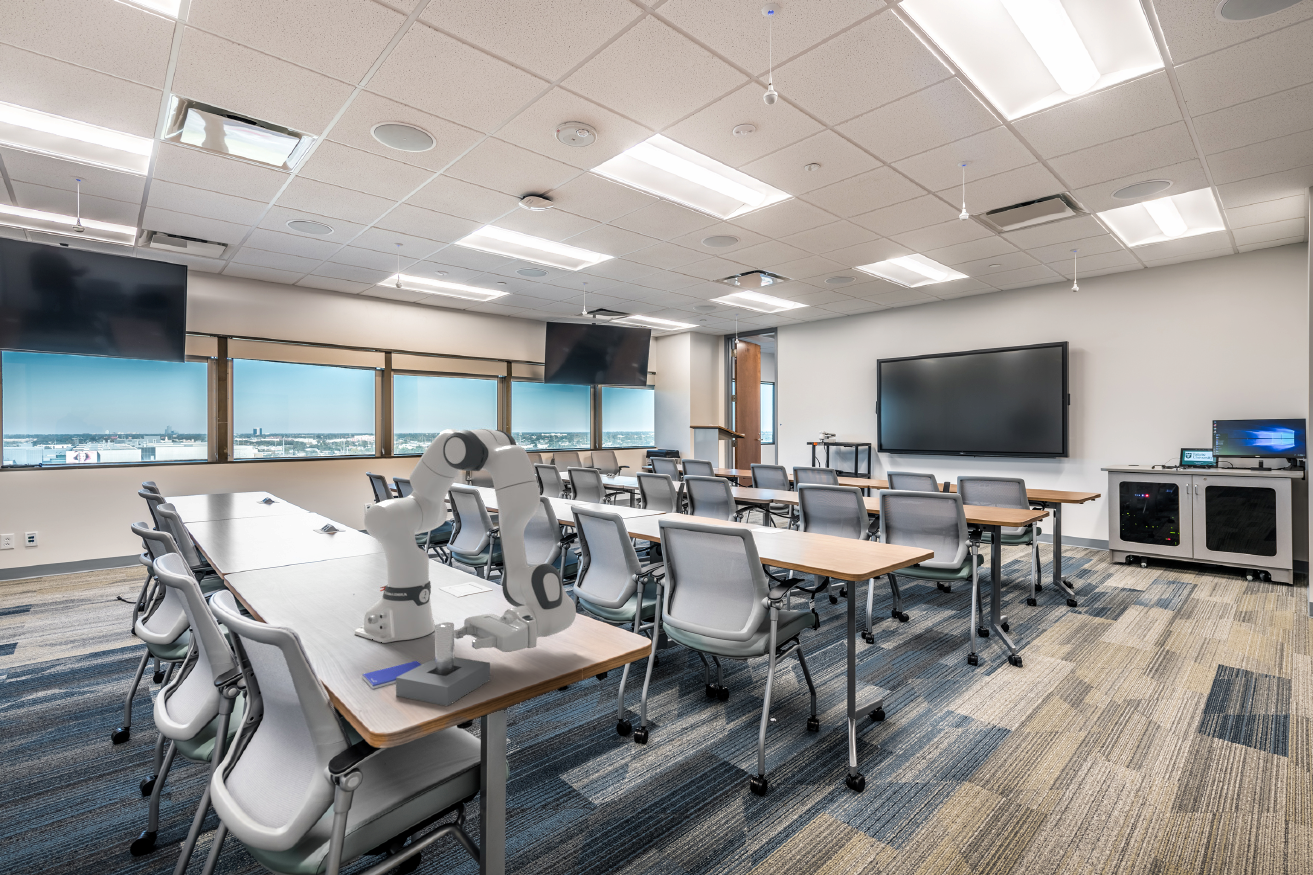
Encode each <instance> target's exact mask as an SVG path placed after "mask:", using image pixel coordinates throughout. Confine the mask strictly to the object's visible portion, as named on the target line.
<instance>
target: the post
mask: <svg viewBox="0 0 1313 875" xmlns="http://www.w3.org/2000/svg"><path fill="white" fill-rule="evenodd" d="M434 625H435V624H434ZM454 630H455V624H454V623H453V622H440V623H437V624H436V625H435V630H434V658H435V674H436V675H442V676H447V675H449V674H451V673H452V672H454V657H455V638H454Z"/></svg>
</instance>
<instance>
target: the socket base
mask: <svg viewBox="0 0 1313 875" xmlns="http://www.w3.org/2000/svg"><path fill="white" fill-rule="evenodd" d="M489 681H491V663H490V662H488V661H482V660H477V659H470V658H463V657H457V656H454V672H452V673H451V674H449V675H447V676H442V675H436V674H435V657H434V658H432V659H431V660H429V661H426V662H424V663H422V665H420V666H418V667H416V668H414V669H412V670H410V671H408V672H406V673H404V674H402V675H400V676H398V677H396V683H395V686H396V687H395V691H396V694H395V696H396V697H399V698H406V699H410V700H415V701H420V702H424V703H430V704H435V705H439V706H440V705H441V706H444V705H447V706H446V707H448V705H449V706H451V705H452V704H453V703H452V702H454V701H455V702H457V701H459V700H460V699H461V698H460V697H462V696H464V695H465V696H466V694H467V695H468V694H470V693H471V692H470V691H472V692H473V691H474V689H475V690H477V689H478V688H480V687H481V686H483V685H485V684H486V683H488V682H489ZM484 683H485V684H484ZM482 684H483V685H482ZM479 686H480V687H479ZM469 692H470V693H469ZM465 696H464V697H465ZM462 698H463V697H462ZM458 699H459V700H458ZM456 700H457V701H456ZM455 702H454V703H455ZM451 703H452V704H451ZM450 704H451V705H450Z"/></svg>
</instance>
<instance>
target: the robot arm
mask: <svg viewBox="0 0 1313 875" xmlns="http://www.w3.org/2000/svg"><path fill="white" fill-rule="evenodd" d="M461 471H465V472H480V471H486V472H487V473H489V475H490V476H491V477H490V478H491V479H492V483H493V487H494V492H495V496H496V502H497V509H498V510H497V511H498V534H499V542H500V548H501V550H500V551H501V555H502V556H501V557H502V563H503V577H502V578H503V579H502V585H501V586H502V588H501V589H502V594H503V596H504V598H505V600H506V601H507V602H508V603H509V604H510V606H513V607H512V608H507V609H506V610H505V611H504V612H503V615H502V616H500V615H497V614H494V613H484V614H479V615H474V616H469V617H466V618H465V619H464V620H463V624H464V625H463V626H462V627H460V628H459V629H454V639H456V640H460V639H462V638H464V636H470V637H473V638H474V639H473V640H472V641H471V647H472V648H474V649H475V650H479V649H483V648H484V649H485V648H486V649H487V648H489V649H492V648H494V649H496V650H498V651H501V652H502V653H512V652H516V651H520V650H523V649H524V650H525V649H534V648H536V647H537V642H538V641H537V640H538V638H545V637H550V636H553V635H556V634H558V633H561V632H563V631H565V630H567V629H568V628H570V627H571V626H572V625H573V623H574V622H575V620H576V616H577V608H576V605H575V602H574V600H573V599H572V598H571V597H570V596H569V595H568V594H567V591H566V589H565V588H564V585H563V581H562V579H563V578H562V576H561V573H560V571H559V570H558V568H557V567H555V566H554V565H553V564H549V563H541V564H538V565H533V566H529V564H528V560H527V553H526V545H525V538H524V536H525V530H526V527H527V525H528V524H529V521H530V520H531V519H532V518H533V517H534V516H535V514H536V513H537V511H538V510H539V508H540V506H541V492H540V488H539V483H538V480H537V477H536V473H535V469H534V467H533V465H532V462H531V460H530V457H529V455H528V453H527V451H526V450H525V449H524V447H522V446H519V445H517V442H516V440H515V438H514V437H513V435H512V434H510V433H508V432H506V431H504V430H501V429H488V428H479V429H478V428H477V429H469V430H468V429H462V430H457V429H455V428H454V429H453V428H448V429H444V430H442V431H441V432H440V433H439V434H437V436H436V437H435V438H434V439H433V440H432V442H430V444H429V446H427V448H426V449H425V451H424V452H423V454H422V455H421V457H420V459H419V460H418V462H417V463H416V465H415V466H414V468H413V469H412V471H411V473H410V475H409V484H410V486H411V488H412V492H411V493H410V494H409V495H408V496H406V497H399V498H391V499H385V500H382V501H379V502H377V503H375V504H373V505H371V506H369V507H368V508H367V510H366V512H365V514H364V520H363V522H364V527H365V530H366V532H367V533H368V535H369V536H371V537H372V538H374V540H376V541H377V542H378V543H379V544H380V546H381V548H382V550H383V553H384V555H385V558H386V559H385V560H386V577H387V580H386V581H387V583H386V585H384V586H381V587H380V590H379V591H380V592H382V593H383V594H382V597H381V598H380V599H379V600H378V601H377V602H376V603H374V604H373V605H372V606H370V607H369V608H368V609H367V610H366V611H365V614H364V619H363V625H361V626H359V627H357V628H356V629H355V630H354V635H356V636H360V637H362V638H366V639H369V640H372V639H373V640H372V641H375V642H378V643H381V642H382V644H387V643H391V642H398V641H406V640H407V641H408V640H413V639H414V640H415V639H418V638H422V637H426V636H427V635H430V634H432V633H434V632H435V619H434V617H433V611H432V610H433V609H432V603H431V598H430V597H431V594H432V593H431V592H432V590H431V589H432V584H431V580H430V568H429V567H430V559H429V554H428V553H427V551H425V550H424V549H422V548H419V546H418V543H417V540H416V535H418V534H419V535H420V534H424V533H427V532H431V531H434V530H435V529H437V528H439V527H441V526H442V525H444V523H445V522H446V520H447V518H448V507H447V505H446V503H445V499H446V497H447V494H448V492H449V491H450V489H451V487H452V485H454V482H455V481H456V479H457V477H458V476H459V475H460V473H461Z"/></svg>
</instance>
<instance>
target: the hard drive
mask: <svg viewBox="0 0 1313 875" xmlns="http://www.w3.org/2000/svg"><path fill="white" fill-rule="evenodd" d="M422 664H423V663H422ZM422 664H421V662H419V661H417V660H414V661H410V662H405V663H403V664H398V665H395V666H390V667H386V668H382V669H378V670H374V671H370V672H369V671H368V672H366V673H362V674H361V675H362V676H361V678H362V681H364V682H365V683H366V684H367V685H368V686H369V687H370V688H371V689H372V690H374V689H377V688H381V687H385V686H389V685H392V684H396V677H398V676H400V675H402V674H404V673H406V672H408V671H410V670H412V669H414V668H416V667H418V666H420V665H422Z"/></svg>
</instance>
